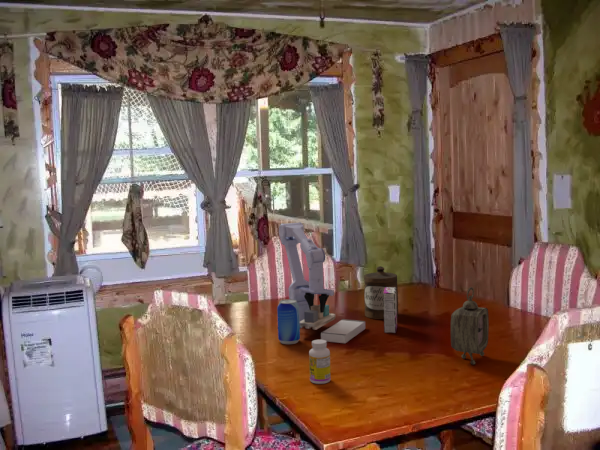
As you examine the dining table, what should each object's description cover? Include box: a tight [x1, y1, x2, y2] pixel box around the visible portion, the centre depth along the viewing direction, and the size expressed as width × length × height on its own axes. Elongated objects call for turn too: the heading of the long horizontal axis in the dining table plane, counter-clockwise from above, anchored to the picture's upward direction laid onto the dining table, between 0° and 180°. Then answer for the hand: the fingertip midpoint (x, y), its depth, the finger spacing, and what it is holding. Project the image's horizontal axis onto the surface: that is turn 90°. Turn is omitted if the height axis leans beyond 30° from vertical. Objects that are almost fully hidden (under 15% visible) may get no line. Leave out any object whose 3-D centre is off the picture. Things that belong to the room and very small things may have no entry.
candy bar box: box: [383, 287, 398, 334], centre depth 254 cm, size 11×5×16 cm, turn 168°
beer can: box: [276, 298, 301, 345], centre depth 241 cm, size 8×8×16 cm
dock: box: [320, 318, 366, 344], centre depth 249 cm, size 10×22×3 cm, turn 154°
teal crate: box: [323, 304, 330, 317], centre depth 259 cm, size 4×4×4 cm
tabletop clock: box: [450, 287, 490, 366], centre depth 213 cm, size 14×9×25 cm, turn 148°
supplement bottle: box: [308, 339, 332, 385], centre depth 197 cm, size 7×7×13 cm
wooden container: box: [363, 266, 399, 320], centre depth 277 cm, size 15×15×22 cm
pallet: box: [300, 304, 336, 331], centre depth 254 cm, size 8×19×7 cm, turn 154°
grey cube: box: [304, 310, 318, 323], centre depth 249 cm, size 4×4×4 cm
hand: (317, 311), depth 254 cm, fingers closed on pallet, 4 cm apart
